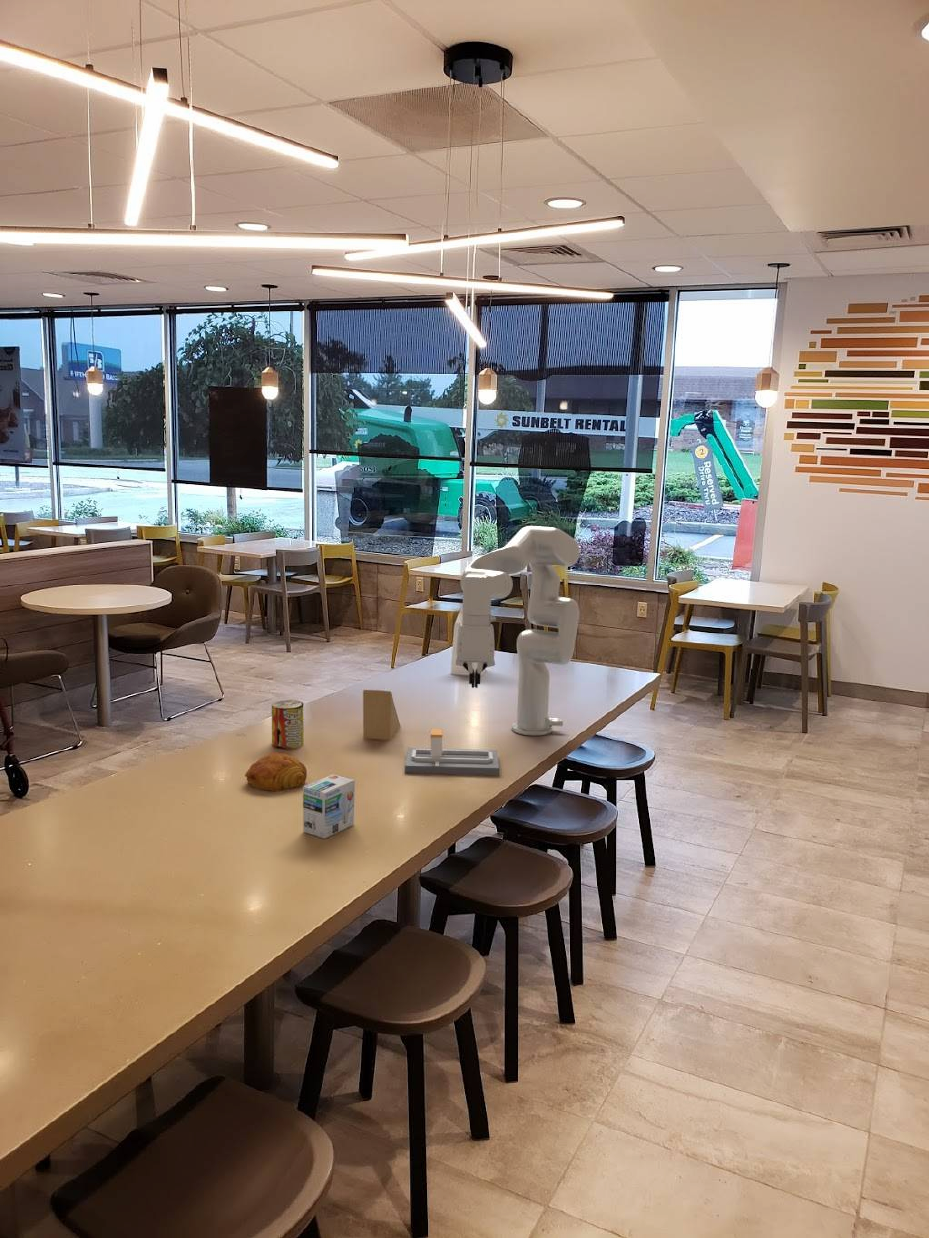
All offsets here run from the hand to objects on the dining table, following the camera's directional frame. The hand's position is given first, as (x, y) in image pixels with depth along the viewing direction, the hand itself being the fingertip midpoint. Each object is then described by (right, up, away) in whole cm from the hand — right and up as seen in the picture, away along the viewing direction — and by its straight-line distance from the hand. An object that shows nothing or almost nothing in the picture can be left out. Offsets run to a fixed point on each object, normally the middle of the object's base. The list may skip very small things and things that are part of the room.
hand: (474, 686), depth 252 cm
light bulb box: (-33, -29, -41) cm, 61 cm away
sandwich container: (-28, -16, +31) cm, 45 cm away
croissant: (-51, -24, -13) cm, 58 cm away
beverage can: (-54, -18, +17) cm, 59 cm away
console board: (-6, -22, +3) cm, 23 cm away
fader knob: (-11, -20, +3) cm, 22 cm away
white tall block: (-1, -2, +111) cm, 111 cm away
